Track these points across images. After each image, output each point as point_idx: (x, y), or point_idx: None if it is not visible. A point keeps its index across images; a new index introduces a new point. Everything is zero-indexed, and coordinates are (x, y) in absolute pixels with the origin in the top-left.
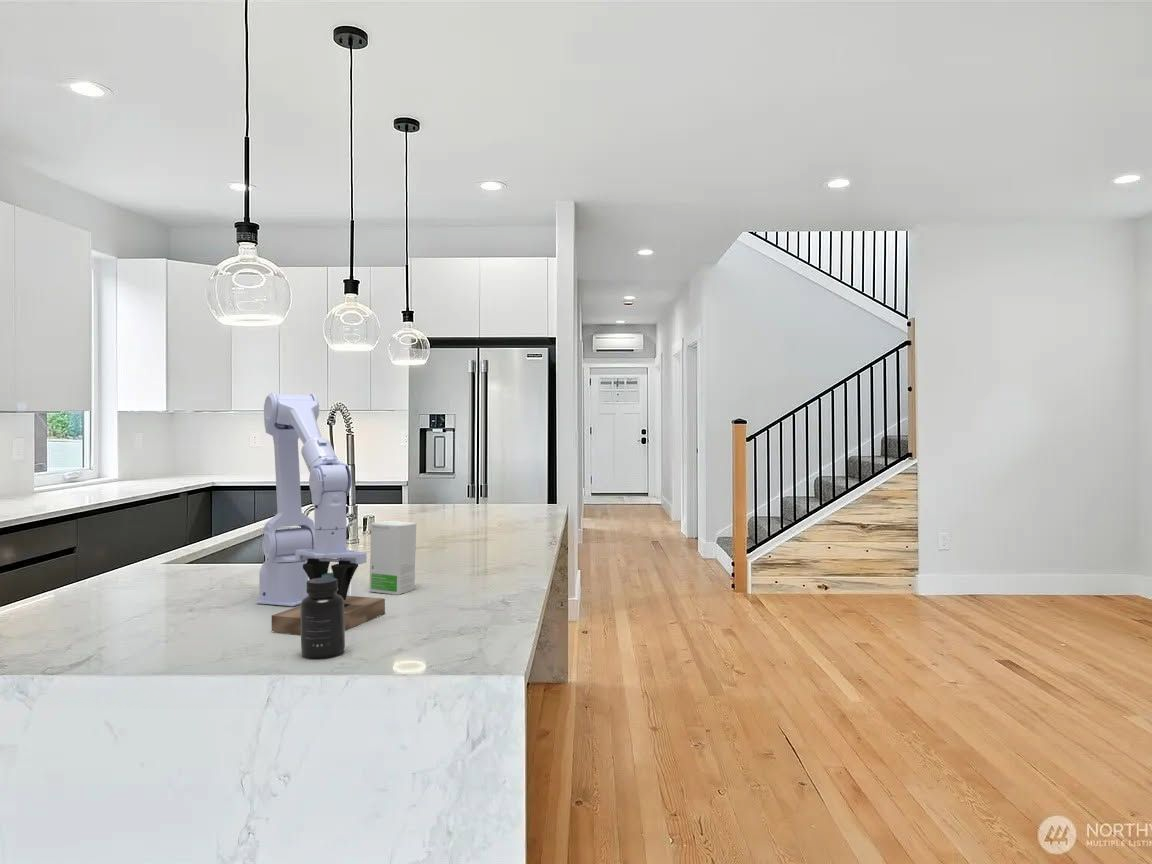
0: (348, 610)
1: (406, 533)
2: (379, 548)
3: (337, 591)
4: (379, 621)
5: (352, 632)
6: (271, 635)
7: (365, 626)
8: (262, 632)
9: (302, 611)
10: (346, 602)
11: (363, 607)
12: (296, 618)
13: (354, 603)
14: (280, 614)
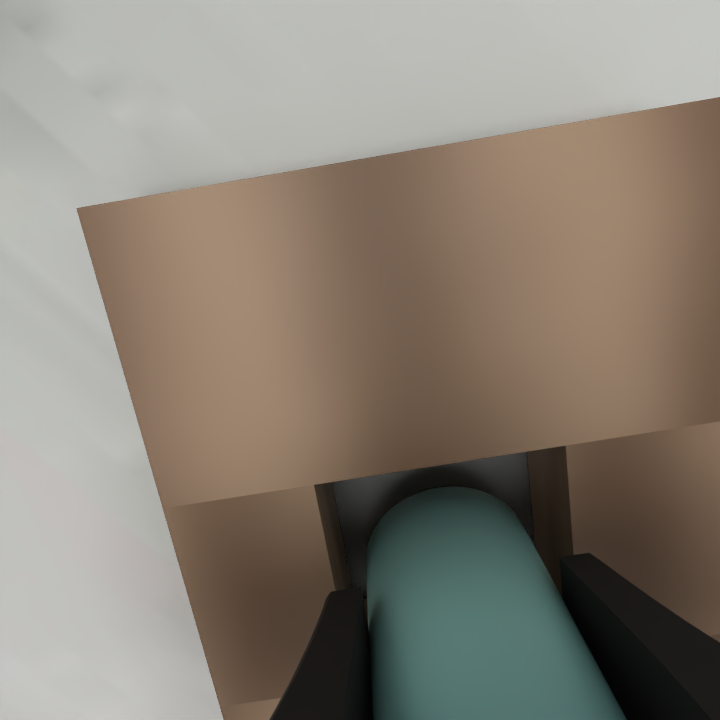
0: (218, 546)
1: None
2: None
3: (321, 654)
4: (178, 652)
5: (110, 395)
6: (573, 57)
7: (158, 536)
8: (703, 89)
9: None
10: None
11: (213, 671)
12: (428, 150)
13: None
14: (669, 170)
